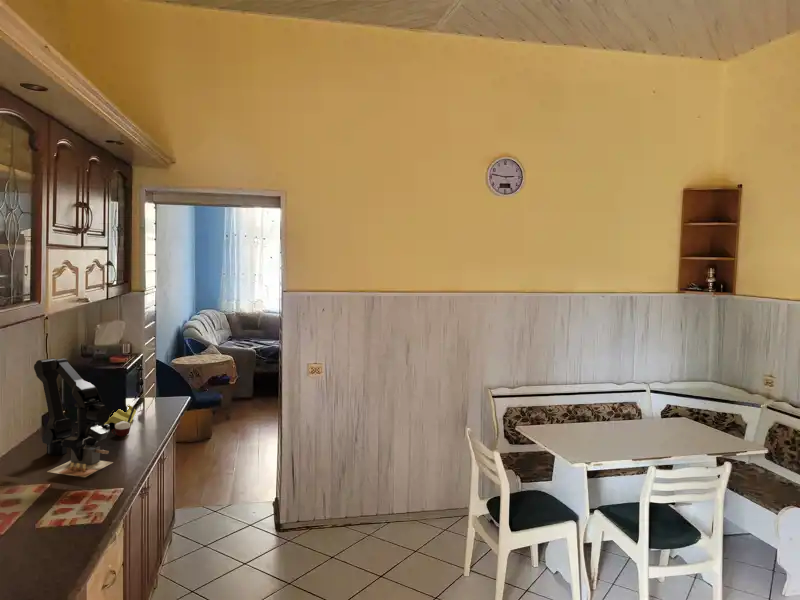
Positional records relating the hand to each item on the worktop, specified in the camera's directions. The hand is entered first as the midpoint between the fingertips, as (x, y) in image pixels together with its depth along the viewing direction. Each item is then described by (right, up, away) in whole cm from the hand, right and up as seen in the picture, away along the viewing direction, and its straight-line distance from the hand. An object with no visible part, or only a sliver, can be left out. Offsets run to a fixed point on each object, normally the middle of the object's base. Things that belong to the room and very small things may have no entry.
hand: (85, 458), depth 237 cm
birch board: (+1, -3, -5) cm, 6 cm away
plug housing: (+2, -1, 0) cm, 3 cm away
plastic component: (-12, +2, +57) cm, 58 cm away
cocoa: (-3, 0, +38) cm, 38 cm away
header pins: (+2, -2, -10) cm, 10 cm away
